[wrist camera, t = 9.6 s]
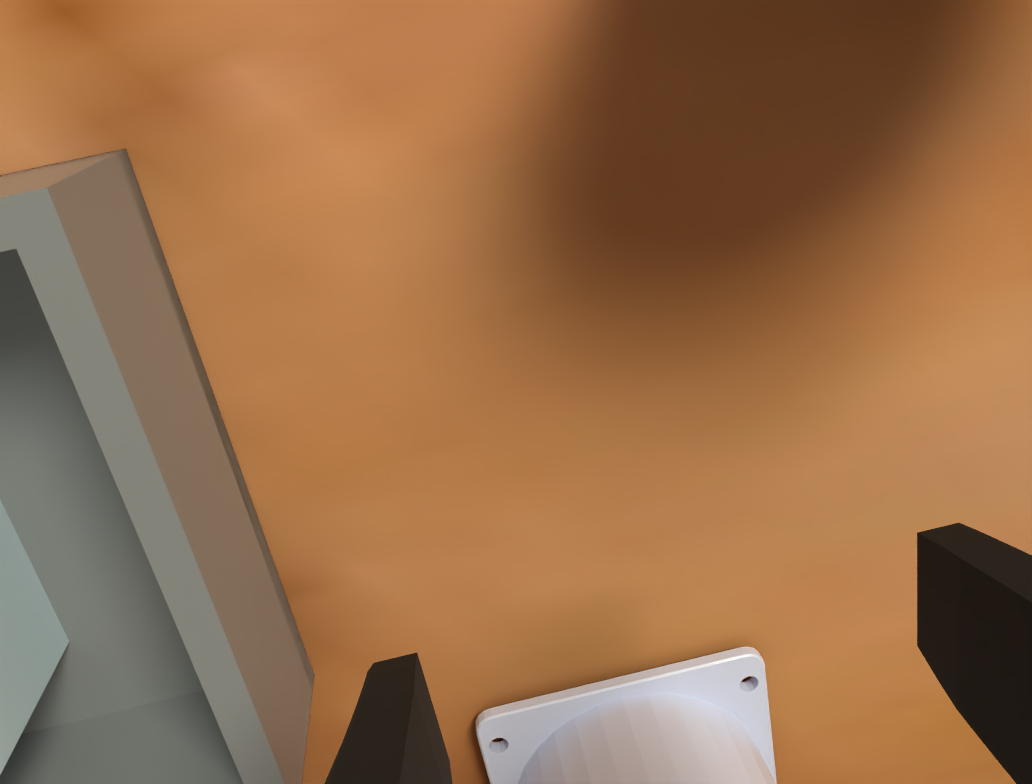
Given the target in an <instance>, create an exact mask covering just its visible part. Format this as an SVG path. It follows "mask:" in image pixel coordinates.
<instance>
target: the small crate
mask: <svg viewBox="0 0 1032 784" xmlns="http://www.w3.org/2000/svg"><path fill="white" fill-rule="evenodd" d="M68 643H69V640H68V638H67V636H66V634H65V632H64V630H63V627H62V625H61V623H60V621H59V619H58V617H57V615H56V613H55V611H54V609H53V607H52V605H51V603H50V601H49V599H48V597H47V595H46V592H45V590H44V588H43V586H42V584H41V582H40V580H39V578H38V576H37V574H36V572H35V570H34V568H33V566H32V564H31V562H30V560H29V558H28V555H27V553H26V551H25V549H24V547H23V545H22V543H21V541H20V539H19V537H18V535H17V533H16V531H15V529H14V527H13V525H12V523H11V521H10V518H9V516H8V514H7V512H6V510H5V508H4V506H3V504H2V502H1V500H0V775H1V773H2V771H3V769H4V767H5V765H6V763H7V761H8V759H9V757H10V755H11V753H12V751H13V749H14V747H15V746H16V744H17V742H18V740H19V738H20V736H21V734H22V732H23V730H24V728H25V726H26V724H27V722H28V720H29V718H30V716H31V715H32V713H33V711H34V709H35V707H36V705H37V703H38V701H39V699H40V697H41V695H42V693H43V691H44V689H45V687H46V686H47V684H48V682H49V680H50V678H51V676H52V674H53V672H54V670H55V668H56V666H57V664H58V662H59V660H60V658H61V656H62V655H63V653H64V651H65V649H66V647H67V645H68Z"/></svg>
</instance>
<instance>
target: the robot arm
mask: <svg viewBox="0 0 1032 784" xmlns="http://www.w3.org/2000/svg"><path fill="white" fill-rule="evenodd" d="M917 646H918V647H919V649H920V651H921V652H922V654H923V656H924V657H925V659H926V661H927V662H928V664H929V666H930V667H931V669H932V671H933V672H934V674H935V676H936V677H937V679H938V681H939V682H940V684H941V685H942V687H943V689H944V690H945V692H946V693H947V695H948V696H949V698H950V699H951V701H952V703H953V704H954V706H955V707H956V709H957V710H958V711H959V713H960V714H961V715H962V716H963V718H964V719H965V720H966V722H967V723H968V724H969V725H970V727H971V728H972V729H973V730H974V732H975V733H976V734H977V735H978V737H979V738H980V739H981V740H982V742H983V743H984V744H985V745H986V747H987V748H988V749H989V750H990V752H991V753H992V754H993V755H994V757H995V758H996V759H997V760H998V761H999V763H1000V764H1001V765H1002V766H1003V768H1004V769H1005V770H1006V771H1007V773H1008V774H1009V775H1010V776H1011V777H1012V779H1013V780H1014V781H1015V782H1016V784H1032V555H1029V554H1027V553H1025V552H1023V551H1021V550H1019V549H1017V548H1014V547H1012V546H1010V545H1008V544H1006V543H1004V542H1002V541H999V540H997V539H995V538H993V537H991V536H988V535H986V534H984V533H982V532H980V531H977V530H975V529H973V528H970V527H968V526H965V525H963V524H960V523H956V524H952V525H948V526H943V527H939V528H935V529H931V530H927V531H923V532H918V533H917ZM748 676H752V677H751V678H750V679H749V680H748V681H745V682H741V681H742V680H743V679H744V678H746V677H748ZM476 733H477V738H478V741H479V745H480V748H481V752H482V756H483V759H484V763H485V767H486V770H487V774H488V778H489V781H490V784H777V782H776V772H775V762H774V752H773V742H772V733H771V723H770V713H769V703H768V693H767V683H766V673H765V664H764V661H763V659H762V657H761V655H760V654H759V652H758V651H757V650H756V649H754V648H751V647H740V648H736V649H731V650H727V651H723V652H719V653H715V654H711V655H707V656H703V657H698V658H694V659H690V660H686V661H682V662H678V663H674V664H670V665H666V666H661V667H657V668H653V669H649V670H645V671H641V672H637V673H633V674H629V675H624V676H620V677H616V678H612V679H608V680H604V681H600V682H596V683H592V684H587V685H583V686H579V687H575V688H571V689H567V690H563V691H559V692H555V693H550V694H546V695H542V696H538V697H534V698H530V699H526V700H522V701H518V702H513V703H509V704H505V705H501V706H497V707H493V708H489V709H487V710H484V711H483V712H482V713H481V714H479V715H478V717H477V719H476ZM496 738H504V740H502V741H500V742H492V740H494V739H496ZM325 784H452V777H451V769H450V762H449V758H448V754H447V751H446V748H445V744H444V741H443V738H442V734H441V731H440V728H439V724H438V721H437V718H436V714H435V711H434V708H433V704H432V701H431V698H430V694H429V691H428V688H427V684H426V681H425V678H424V674H423V671H422V668H421V664H420V661H419V658H418V654H417V653H413V654H409V655H405V656H401V657H397V658H393V659H388V660H384V661H380V662H376V663H373V665H372V666H371V668H370V669H369V670H368V672H367V676H366V679H365V682H364V685H363V688H362V691H361V694H360V697H359V700H358V703H357V706H356V708H355V711H354V714H353V716H352V719H351V722H350V724H349V727H348V729H347V732H346V735H345V737H344V740H343V742H342V745H341V747H340V749H339V752H338V754H337V756H336V759H335V761H334V763H333V766H332V768H331V770H330V773H329V775H328V777H327V780H326V782H325Z"/></svg>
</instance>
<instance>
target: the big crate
mask: <svg viewBox="0 0 1032 784" xmlns="http://www.w3.org/2000/svg"><path fill="white" fill-rule="evenodd" d="M0 500H1V502H2V504H3V506H4V508H5V510H6V512H7V514H8V516H9V518H10V521H11V523H12V525H13V527H14V529H15V531H16V533H17V535H18V537H19V539H20V541H21V543H22V545H23V547H24V549H25V551H26V553H27V555H28V558H29V560H30V562H31V564H32V566H33V568H34V570H35V572H36V574H37V576H38V578H39V580H40V582H41V584H42V586H43V588H44V590H45V592H46V595H47V597H48V599H49V601H50V603H51V605H52V607H53V609H54V611H55V613H56V615H57V617H58V619H59V621H60V623H61V625H62V627H63V630H64V632H65V634H66V636H67V638H68V640H69V643H68V645H67V647H66V649H65V651H64V653H63V655H62V656H61V658H60V660H59V662H58V664H57V666H56V668H55V670H54V672H53V674H52V676H51V678H50V680H49V682H48V684H47V686H46V687H45V689H44V691H43V693H42V695H41V697H40V699H39V701H38V703H37V705H36V707H35V709H34V711H33V713H32V715H31V716H30V718H29V720H28V722H27V724H26V726H25V728H24V730H23V732H22V734H21V736H20V738H19V740H18V742H17V744H16V746H15V747H14V749H13V751H12V753H11V755H10V757H9V759H8V761H7V763H6V765H5V767H4V769H3V771H2V773H1V775H0V784H302V776H303V768H304V759H305V751H306V742H307V734H308V725H309V717H310V708H311V700H312V691H313V683H314V673H313V670H312V668H311V665H310V662H309V659H308V656H307V654H306V651H305V648H304V645H303V642H302V640H301V637H300V634H299V631H298V628H297V626H296V623H295V620H294V617H293V614H292V612H291V609H290V606H289V603H288V601H287V598H286V595H285V592H284V589H283V587H282V584H281V581H280V578H279V575H278V573H277V570H276V567H275V564H274V561H273V559H272V556H271V553H270V550H269V547H268V545H267V542H266V539H265V536H264V533H263V531H262V528H261V525H260V522H259V520H258V517H257V514H256V511H255V508H254V506H253V503H252V500H251V497H250V494H249V492H248V489H247V486H246V483H245V480H244V478H243V475H242V472H241V469H240V466H239V464H238V461H237V458H236V455H235V452H234V450H233V447H232V444H231V441H230V439H229V436H228V433H227V430H226V427H225V425H224V422H223V419H222V416H221V413H220V411H219V408H218V405H217V402H216V399H215V397H214V394H213V391H212V388H211V385H210V383H209V380H208V377H207V374H206V371H205V369H204V366H203V363H202V360H201V358H200V355H199V352H198V349H197V346H196V344H195V341H194V338H193V335H192V332H191V330H190V327H189V324H188V321H187V318H186V316H185V313H184V310H183V307H182V304H181V302H180V299H179V296H178V293H177V290H176V288H175V285H174V282H173V279H172V277H171V274H170V271H169V268H168V265H167V263H166V260H165V257H164V254H163V251H162V249H161V246H160V243H159V240H158V237H157V235H156V232H155V229H154V226H153V223H152V221H151V218H150V215H149V212H148V209H147V207H146V204H145V201H144V198H143V196H142V193H141V190H140V187H139V184H138V182H137V179H136V176H135V173H134V170H133V168H132V165H131V162H130V159H129V156H128V154H127V151H126V149H122V150H117V151H112V152H108V153H103V154H98V155H93V156H89V157H84V158H79V159H75V160H70V161H65V162H61V163H56V164H51V165H46V166H42V167H37V168H32V169H28V170H23V171H18V172H14V173H9V174H4V175H0Z"/></svg>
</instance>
